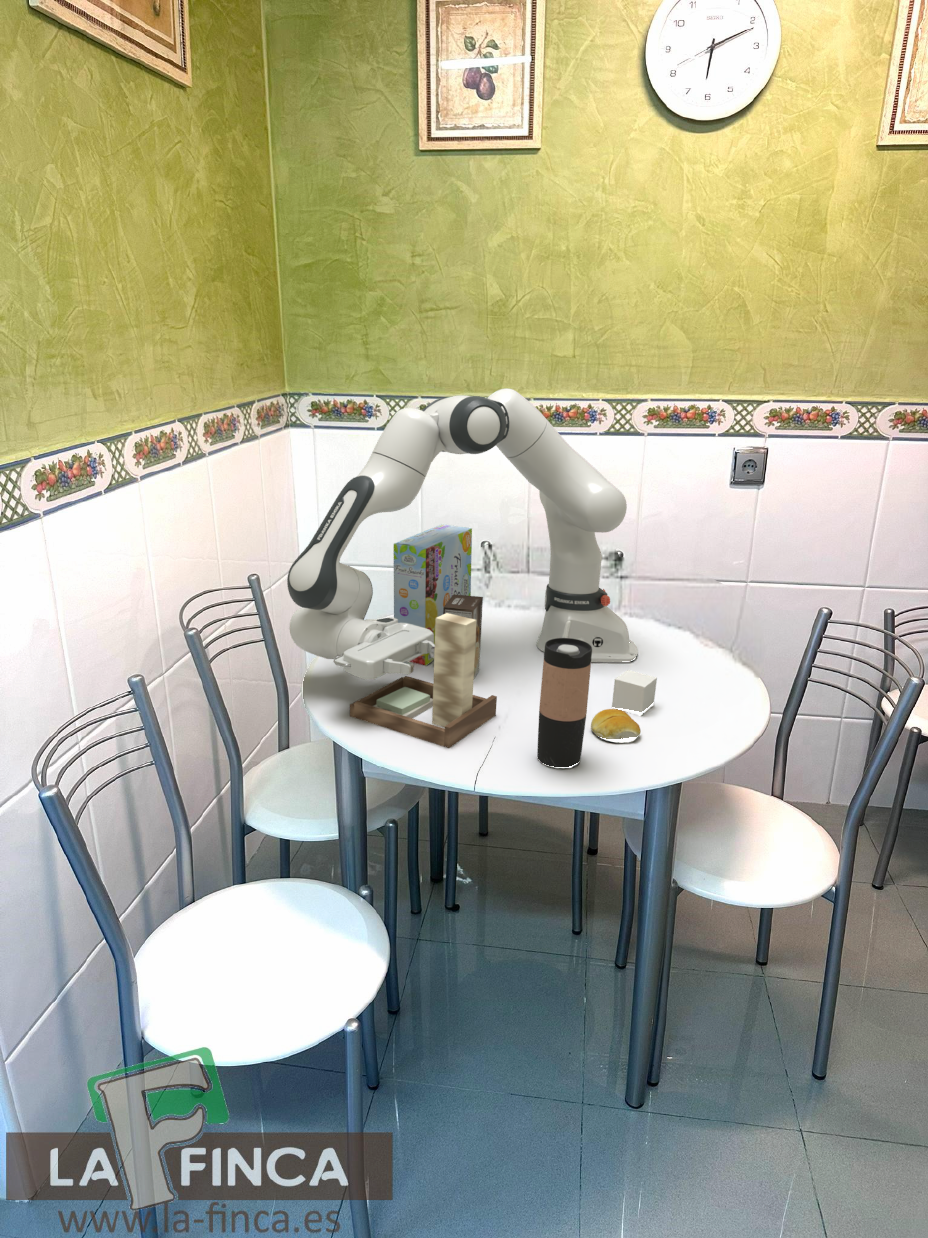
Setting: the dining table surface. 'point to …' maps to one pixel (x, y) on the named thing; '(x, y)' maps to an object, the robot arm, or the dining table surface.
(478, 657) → the coffee box
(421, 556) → the snack box
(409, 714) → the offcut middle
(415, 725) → the tray
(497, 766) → the dining table surface
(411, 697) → the offcut top
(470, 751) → the dining table surface
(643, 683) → the off-white cube
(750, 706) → the dining table surface
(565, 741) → the travel mug
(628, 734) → the bread roll
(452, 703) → the beige tall rectangular block
